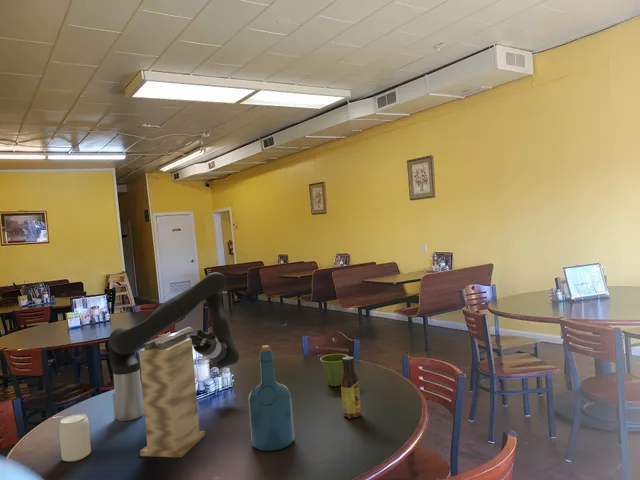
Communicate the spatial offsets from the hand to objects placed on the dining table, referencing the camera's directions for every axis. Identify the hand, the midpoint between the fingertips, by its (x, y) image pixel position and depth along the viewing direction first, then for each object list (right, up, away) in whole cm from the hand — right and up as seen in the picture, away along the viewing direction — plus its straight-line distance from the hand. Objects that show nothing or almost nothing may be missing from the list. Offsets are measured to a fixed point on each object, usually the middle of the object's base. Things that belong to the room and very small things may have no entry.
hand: (186, 332), depth 161 cm
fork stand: (0, -33, -12) cm, 35 cm away
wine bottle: (+31, -31, -17) cm, 47 cm away
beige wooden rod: (-2, -1, -8) cm, 8 cm away
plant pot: (+53, -28, +34) cm, 69 cm away
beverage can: (-30, -36, -15) cm, 49 cm away
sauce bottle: (+57, -29, 0) cm, 64 cm away
